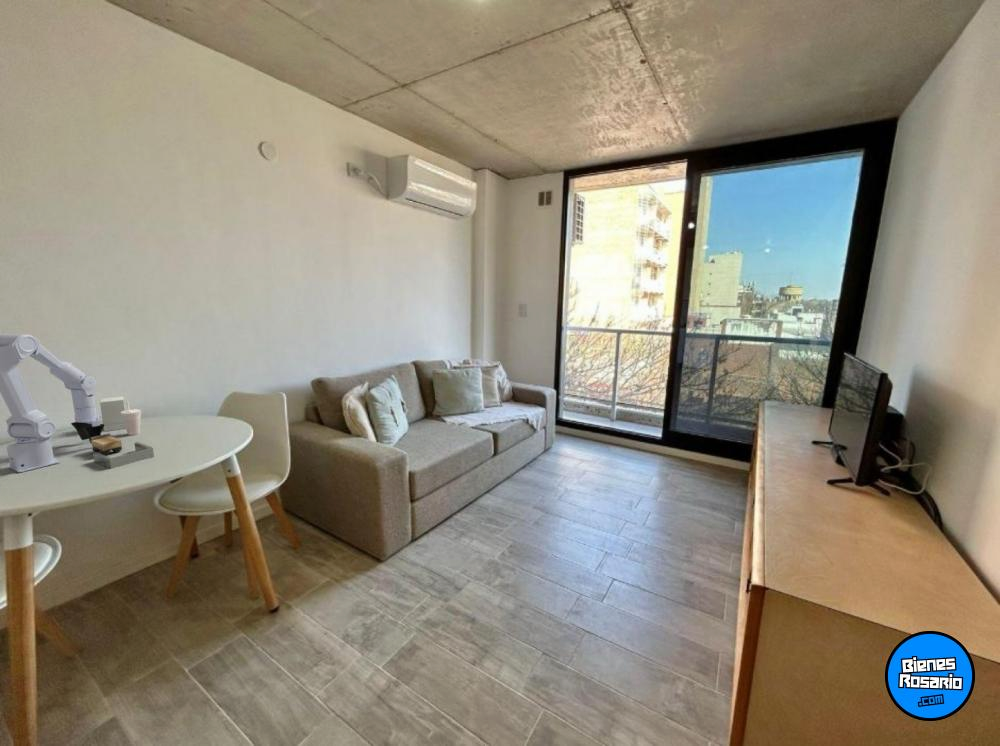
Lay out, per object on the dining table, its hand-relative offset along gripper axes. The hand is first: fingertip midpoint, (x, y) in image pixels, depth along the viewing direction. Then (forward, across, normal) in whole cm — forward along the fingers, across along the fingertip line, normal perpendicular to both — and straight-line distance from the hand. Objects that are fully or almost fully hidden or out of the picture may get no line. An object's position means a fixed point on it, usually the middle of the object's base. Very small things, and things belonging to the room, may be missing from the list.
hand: (90, 441), depth 153 cm
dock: (+2, -25, 0) cm, 25 cm away
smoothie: (+2, +2, -14) cm, 14 cm away
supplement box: (+2, +17, -14) cm, 22 cm away
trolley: (+2, -13, 0) cm, 13 cm away
